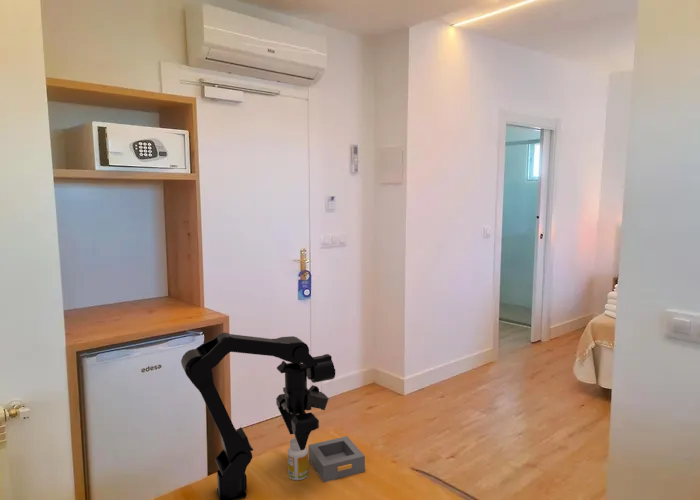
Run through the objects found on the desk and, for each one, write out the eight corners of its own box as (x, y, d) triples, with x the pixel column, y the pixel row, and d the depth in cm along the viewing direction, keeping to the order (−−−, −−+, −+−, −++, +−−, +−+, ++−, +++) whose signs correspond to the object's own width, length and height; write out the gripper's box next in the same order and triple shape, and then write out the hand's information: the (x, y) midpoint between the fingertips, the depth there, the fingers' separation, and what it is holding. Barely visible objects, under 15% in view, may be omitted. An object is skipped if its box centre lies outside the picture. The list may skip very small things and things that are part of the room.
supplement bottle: (310, 469, 136) (309, 436, 135) (306, 481, 130) (305, 446, 129) (290, 469, 136) (289, 435, 135) (286, 480, 131) (285, 445, 130)
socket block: (324, 483, 130) (323, 467, 129) (308, 459, 141) (308, 444, 140) (365, 472, 134) (365, 456, 134) (347, 450, 146) (347, 436, 145)
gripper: (337, 393, 125) (338, 451, 127) (313, 369, 142) (313, 421, 144) (295, 401, 121) (296, 461, 122) (275, 375, 138) (276, 428, 139)
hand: (297, 441), depth 132 cm, fingers open, 9 cm apart
